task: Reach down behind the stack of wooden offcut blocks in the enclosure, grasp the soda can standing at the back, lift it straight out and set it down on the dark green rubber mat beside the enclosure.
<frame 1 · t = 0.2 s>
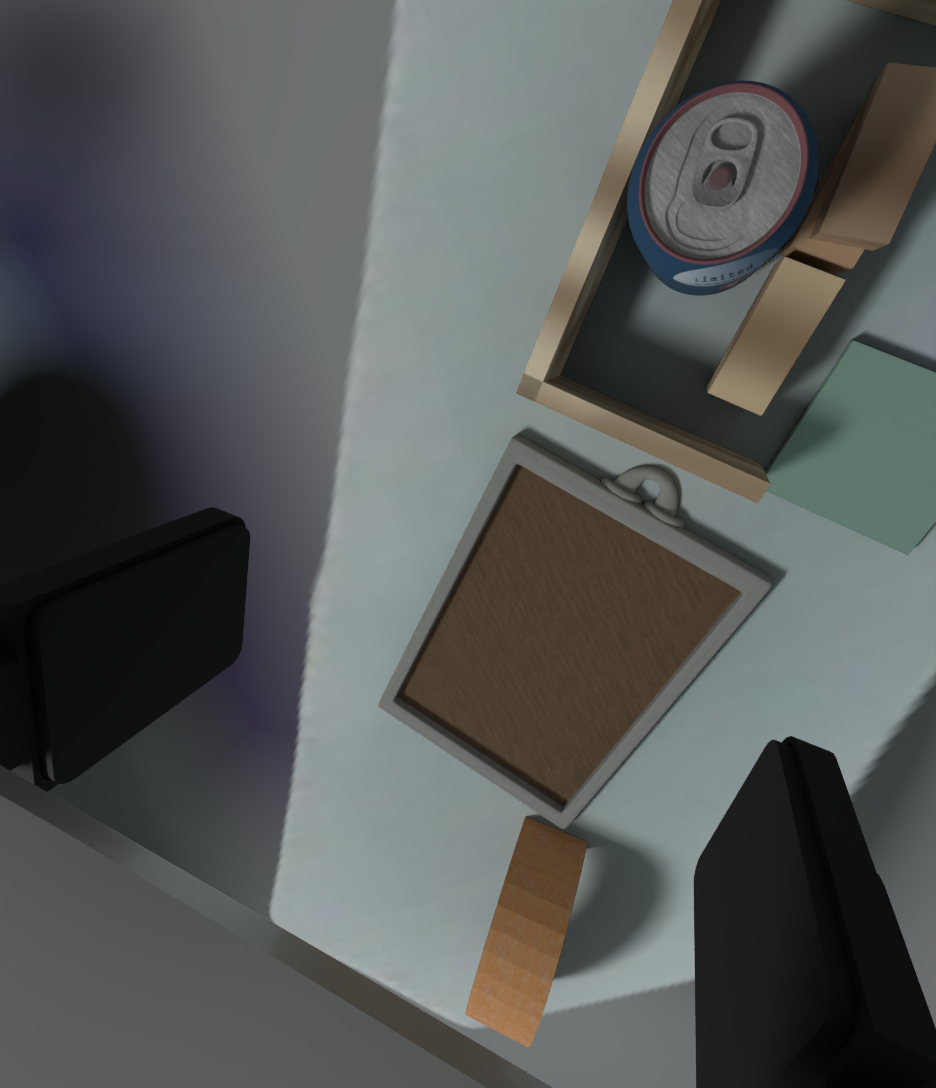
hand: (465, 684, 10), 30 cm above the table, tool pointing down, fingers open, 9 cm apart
enclosure: (726, 234, 31), on the table
arch: (533, 900, 54), on the table
offcut 2: (847, 193, 29), on the table, touching offcut top
mat: (878, 449, 32), on the table
soda can: (709, 228, 32), on the table
offcut 1: (763, 338, 32), on the table
offcut top: (872, 170, 26), point 4 cm above the table, touching offcut 2
framed cork board: (554, 632, 44), on the table
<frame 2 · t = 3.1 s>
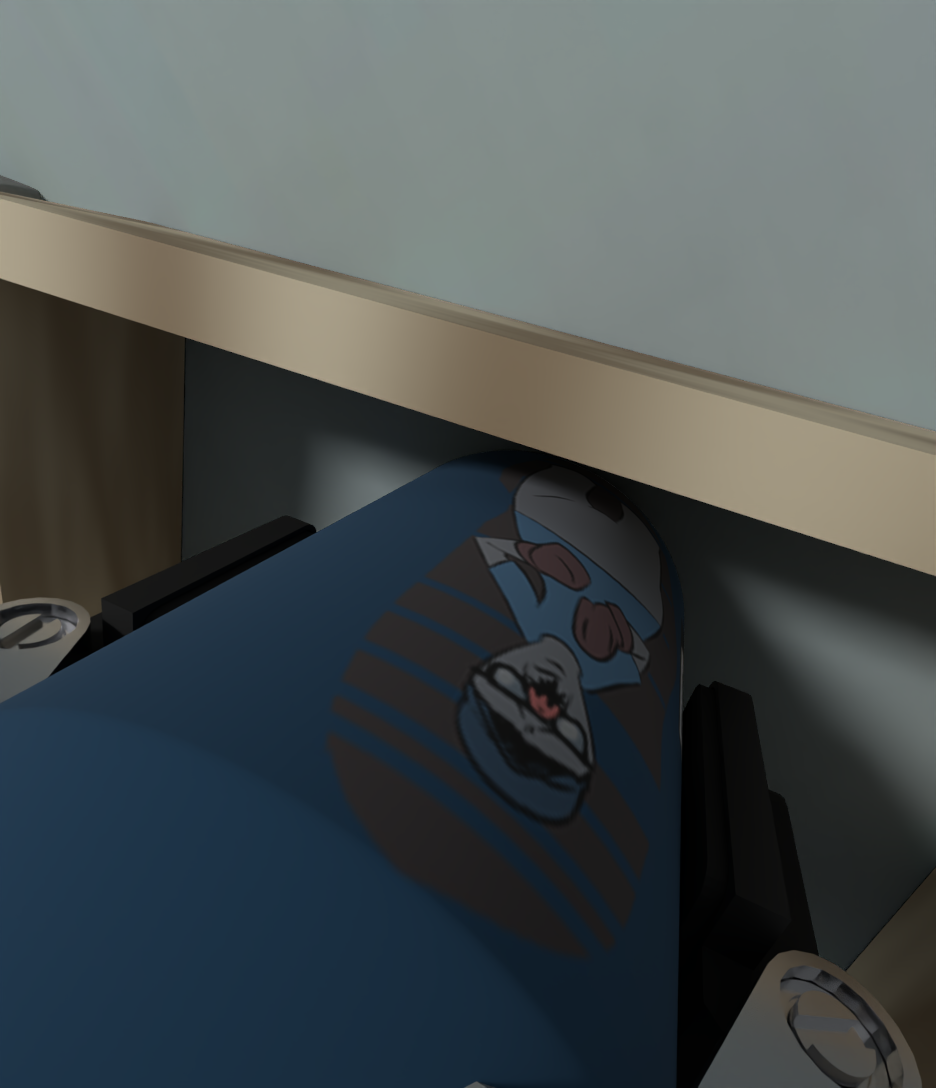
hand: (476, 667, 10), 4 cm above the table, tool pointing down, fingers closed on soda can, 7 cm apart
enclosure: (518, 620, 14), on the table
soda can: (531, 581, 14), on the table, touching gripper
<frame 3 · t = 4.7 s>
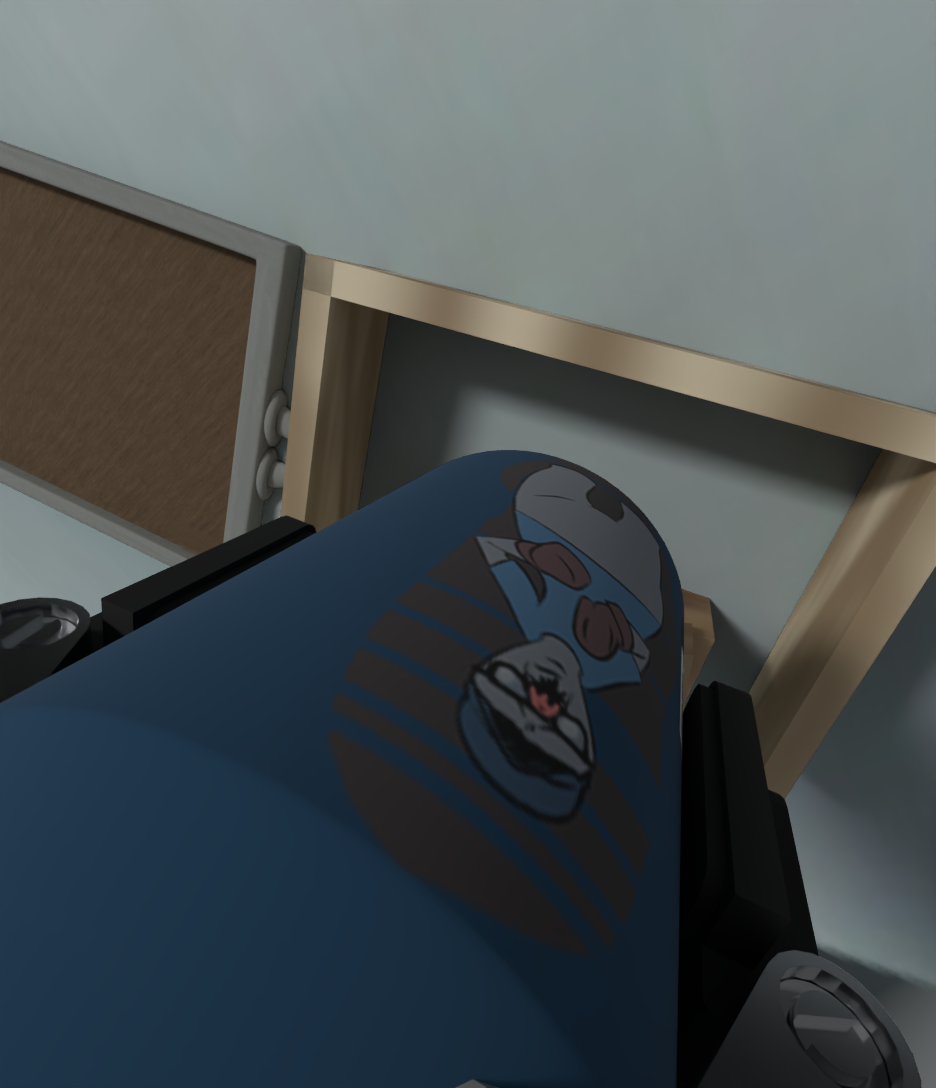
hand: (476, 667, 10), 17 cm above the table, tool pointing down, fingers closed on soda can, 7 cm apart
enclosure: (576, 486, 25), on the table
offcut 2: (621, 598, 27), on the table, touching offcut top
soda can: (531, 581, 14), point 13 cm above the table, touching gripper
offcut top: (608, 642, 23), point 4 cm above the table, touching offcut 2
framed cork board: (100, 364, 33), on the table
when the fingers open (6 cm above the table, at t = 8.6 s): soda can drops 1 cm, resting on mat.
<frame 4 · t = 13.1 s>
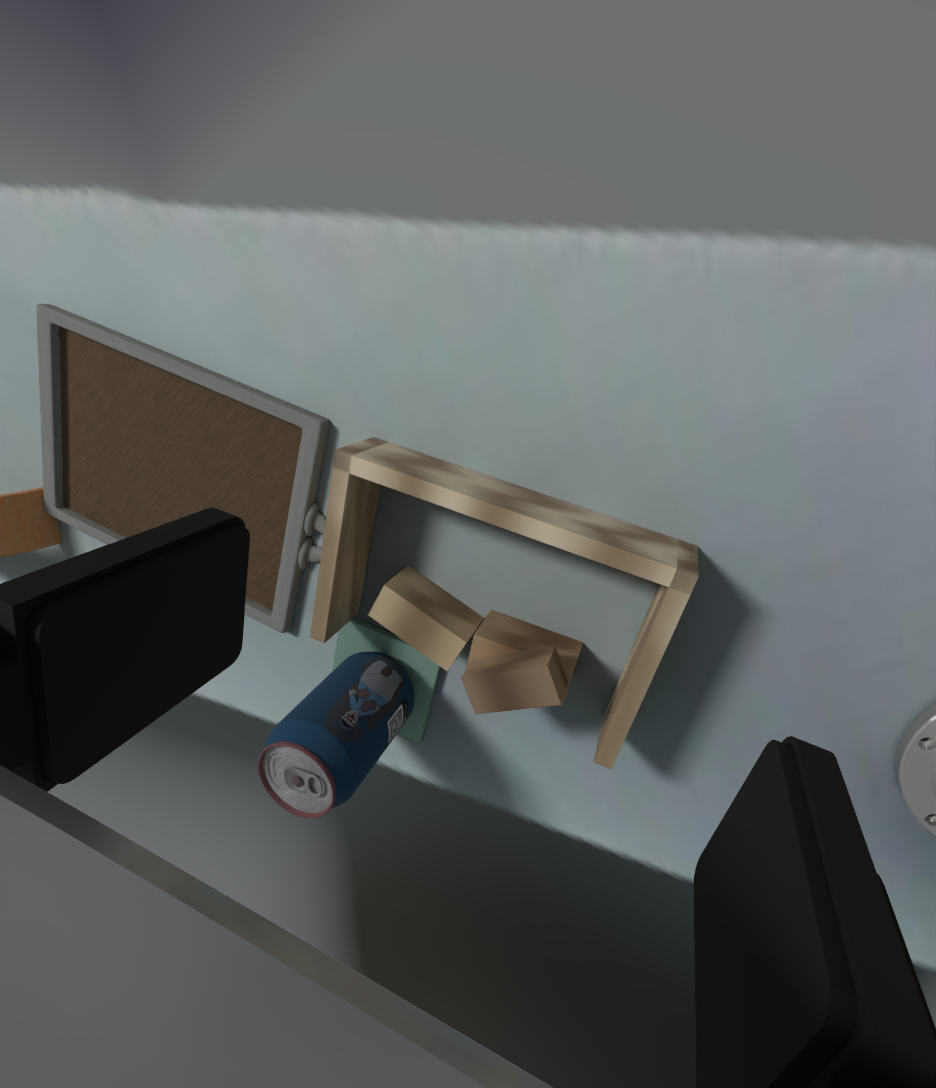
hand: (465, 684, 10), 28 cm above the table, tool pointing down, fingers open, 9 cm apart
enclosure: (499, 573, 41), on the table
offcut 2: (531, 642, 42), on the table, touching offcut top
mat: (384, 677, 48), on the table
soda can: (383, 680, 47), resting on mat
offcut 1: (437, 604, 44), on the table
offcut top: (519, 671, 38), point 4 cm above the table, touching offcut 2
framed cork board: (192, 474, 49), on the table
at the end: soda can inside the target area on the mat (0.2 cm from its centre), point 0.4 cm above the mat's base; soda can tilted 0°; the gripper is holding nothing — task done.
